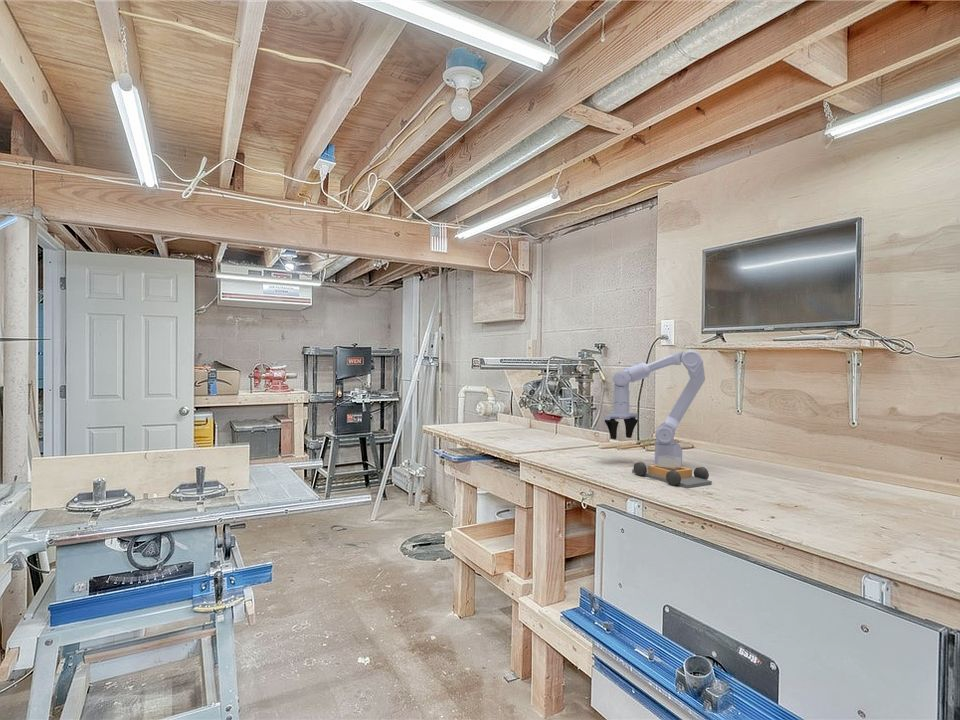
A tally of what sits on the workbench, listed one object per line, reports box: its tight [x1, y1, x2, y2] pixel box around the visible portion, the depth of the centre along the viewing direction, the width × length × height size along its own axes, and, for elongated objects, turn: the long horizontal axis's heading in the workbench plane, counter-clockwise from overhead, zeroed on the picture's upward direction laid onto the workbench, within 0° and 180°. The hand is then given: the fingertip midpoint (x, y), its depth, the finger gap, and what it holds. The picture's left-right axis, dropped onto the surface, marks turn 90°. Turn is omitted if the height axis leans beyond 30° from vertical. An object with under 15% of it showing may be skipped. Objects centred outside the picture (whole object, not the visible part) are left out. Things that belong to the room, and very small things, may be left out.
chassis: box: [631, 461, 713, 489], centre depth 160 cm, size 14×23×4 cm, turn 27°
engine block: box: [658, 455, 681, 471], centre depth 160 cm, size 4×6×6 cm, turn 45°
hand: (621, 438), depth 183 cm, fingers open, 7 cm apart
